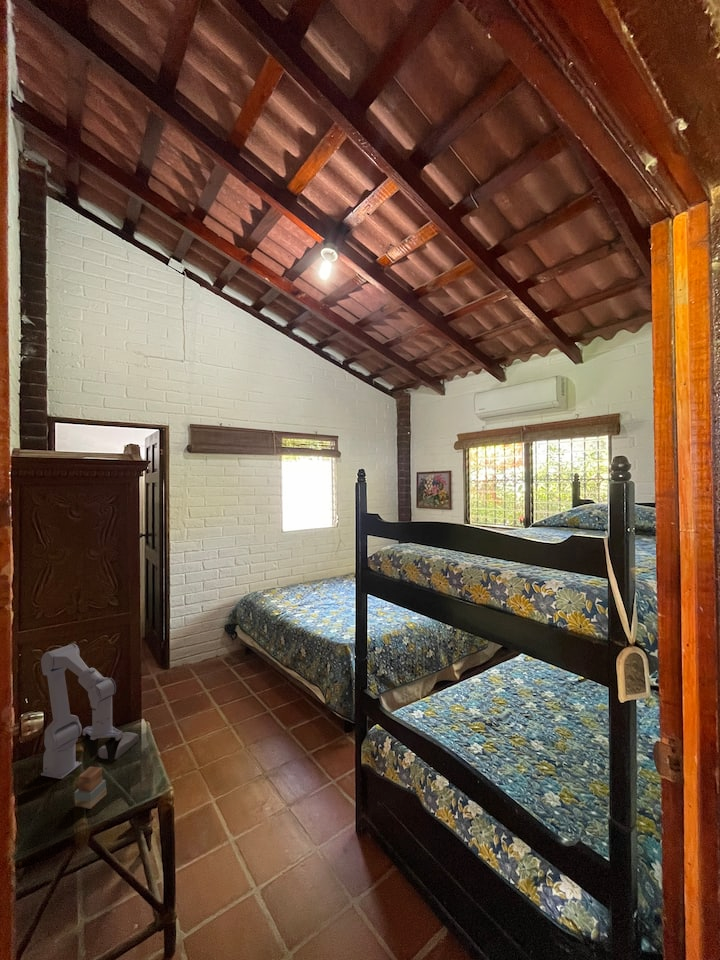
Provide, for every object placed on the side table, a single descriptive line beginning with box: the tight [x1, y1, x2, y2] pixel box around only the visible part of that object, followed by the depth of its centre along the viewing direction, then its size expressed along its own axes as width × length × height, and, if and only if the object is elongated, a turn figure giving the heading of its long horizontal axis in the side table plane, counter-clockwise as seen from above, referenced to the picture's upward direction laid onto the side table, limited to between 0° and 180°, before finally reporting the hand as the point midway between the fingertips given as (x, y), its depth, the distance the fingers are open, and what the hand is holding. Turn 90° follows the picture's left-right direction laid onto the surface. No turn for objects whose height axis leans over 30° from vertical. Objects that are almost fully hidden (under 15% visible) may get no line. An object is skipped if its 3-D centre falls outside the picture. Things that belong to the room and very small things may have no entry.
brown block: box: [74, 787, 108, 810], centre depth 127 cm, size 6×6×2 cm
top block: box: [73, 779, 107, 802], centre depth 127 cm, size 6×6×2 cm
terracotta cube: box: [78, 766, 103, 792], centre depth 127 cm, size 4×4×4 cm
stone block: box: [97, 731, 139, 760], centre depth 153 cm, size 12×5×10 cm
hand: (102, 757), depth 132 cm, fingers open, 7 cm apart
